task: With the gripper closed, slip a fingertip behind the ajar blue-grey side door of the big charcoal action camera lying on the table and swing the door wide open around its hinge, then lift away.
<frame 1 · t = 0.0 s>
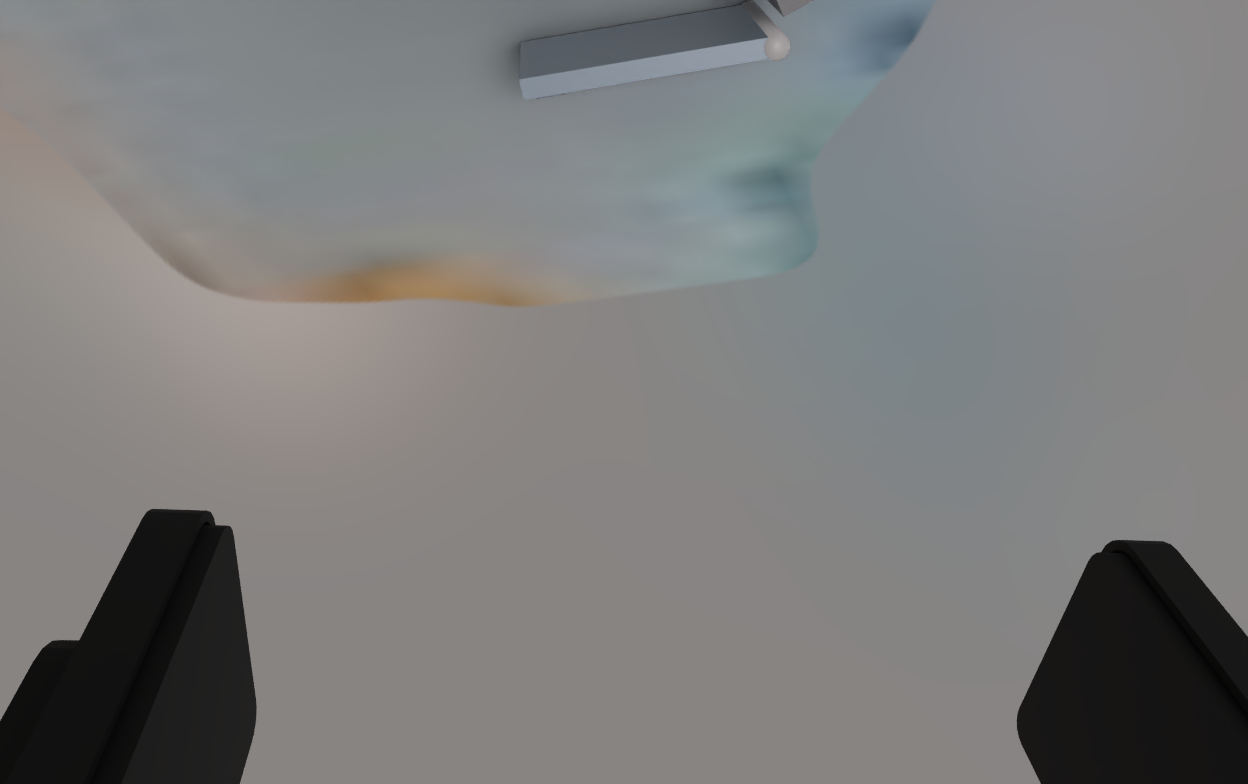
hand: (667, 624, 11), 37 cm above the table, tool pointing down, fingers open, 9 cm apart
side door: (648, 54, 41), point 3 cm above the table, hinge at 70.0°
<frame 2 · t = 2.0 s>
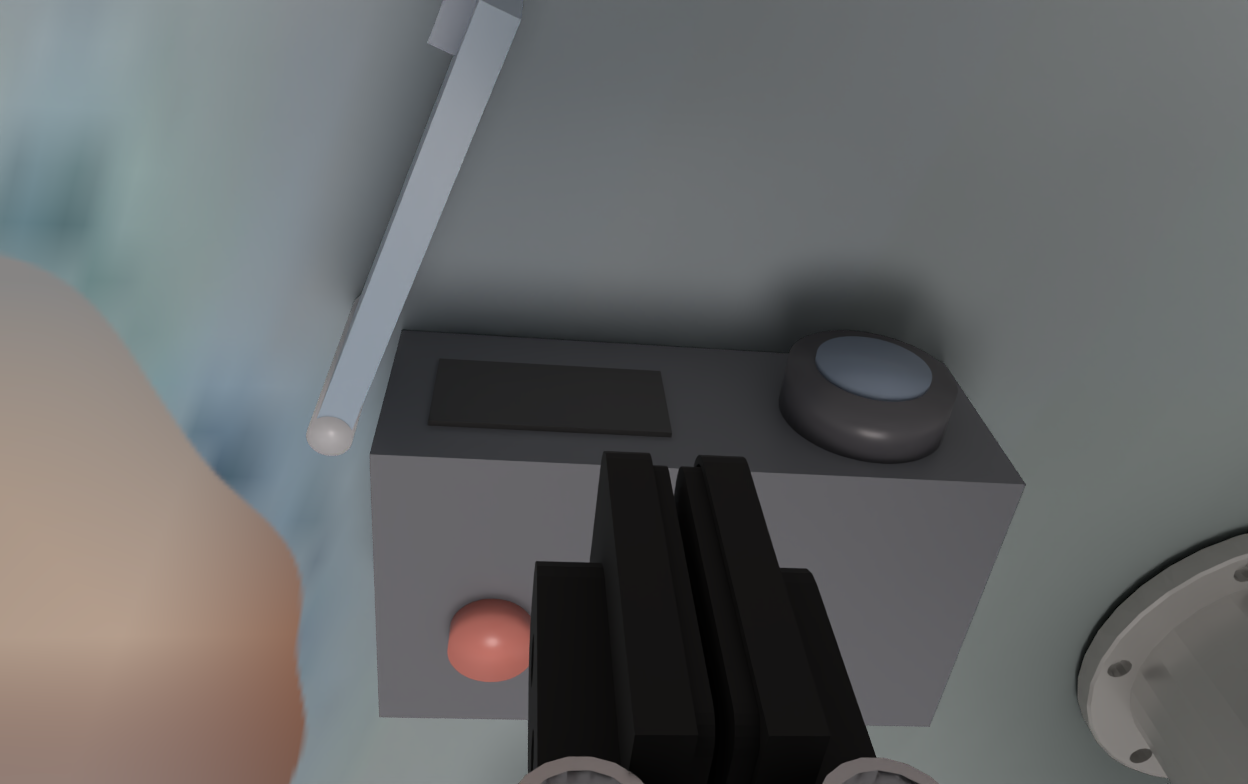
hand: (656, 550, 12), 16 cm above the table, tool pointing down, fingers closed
side door: (407, 198, 22), point 3 cm above the table, hinge at 70.0°
camera body: (662, 471, 31), on the table
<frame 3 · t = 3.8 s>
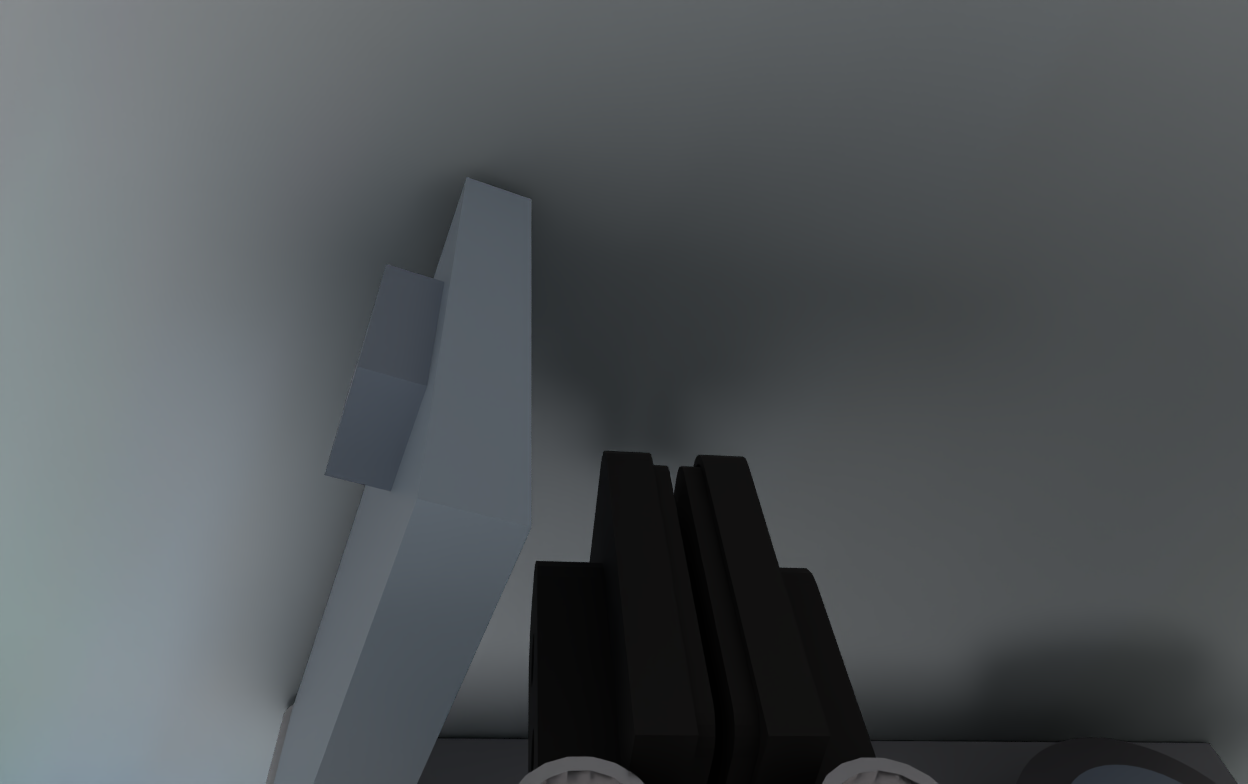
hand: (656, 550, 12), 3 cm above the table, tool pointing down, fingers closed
side door: (333, 674, 12), point 3 cm above the table, hinge at 74.5°, touching gripper
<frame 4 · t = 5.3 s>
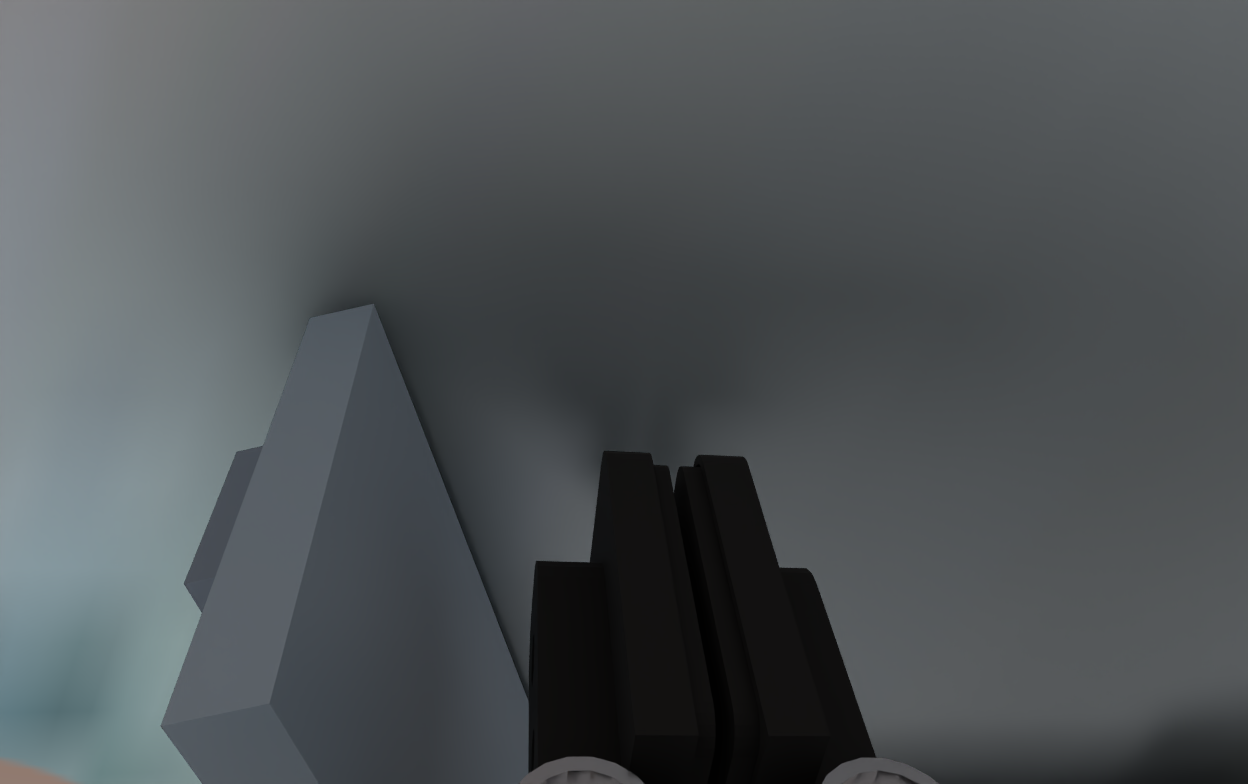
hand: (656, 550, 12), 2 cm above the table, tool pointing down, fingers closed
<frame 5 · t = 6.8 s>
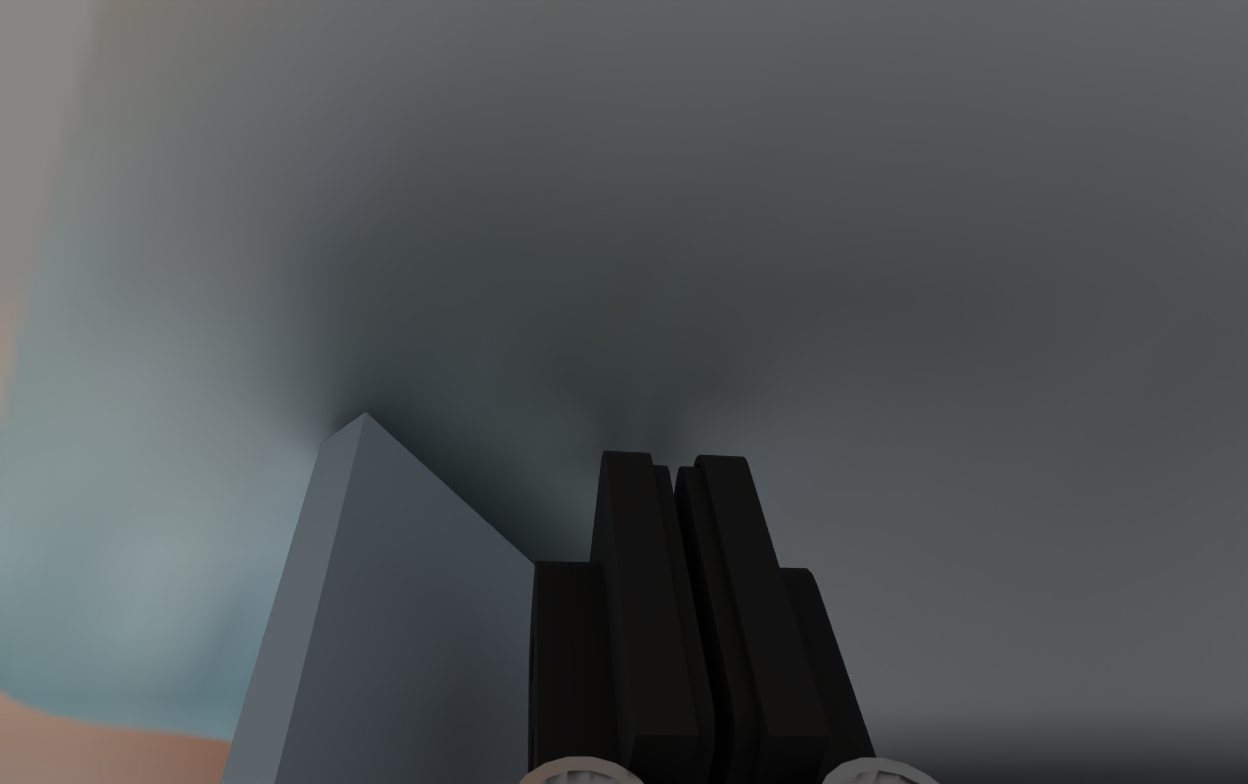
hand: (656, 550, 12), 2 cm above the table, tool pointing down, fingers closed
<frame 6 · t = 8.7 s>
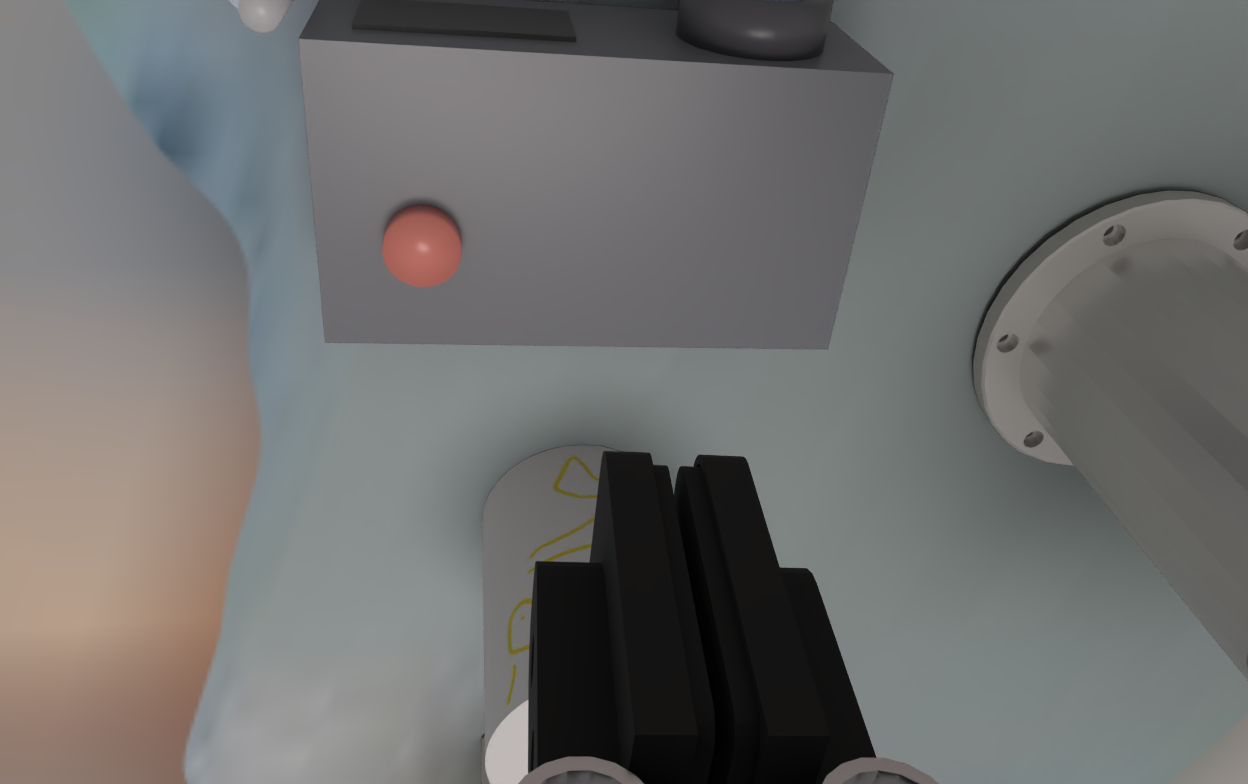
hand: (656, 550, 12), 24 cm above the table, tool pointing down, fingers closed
camera body: (579, 142, 34), on the table
cup: (575, 516, 43), on the table
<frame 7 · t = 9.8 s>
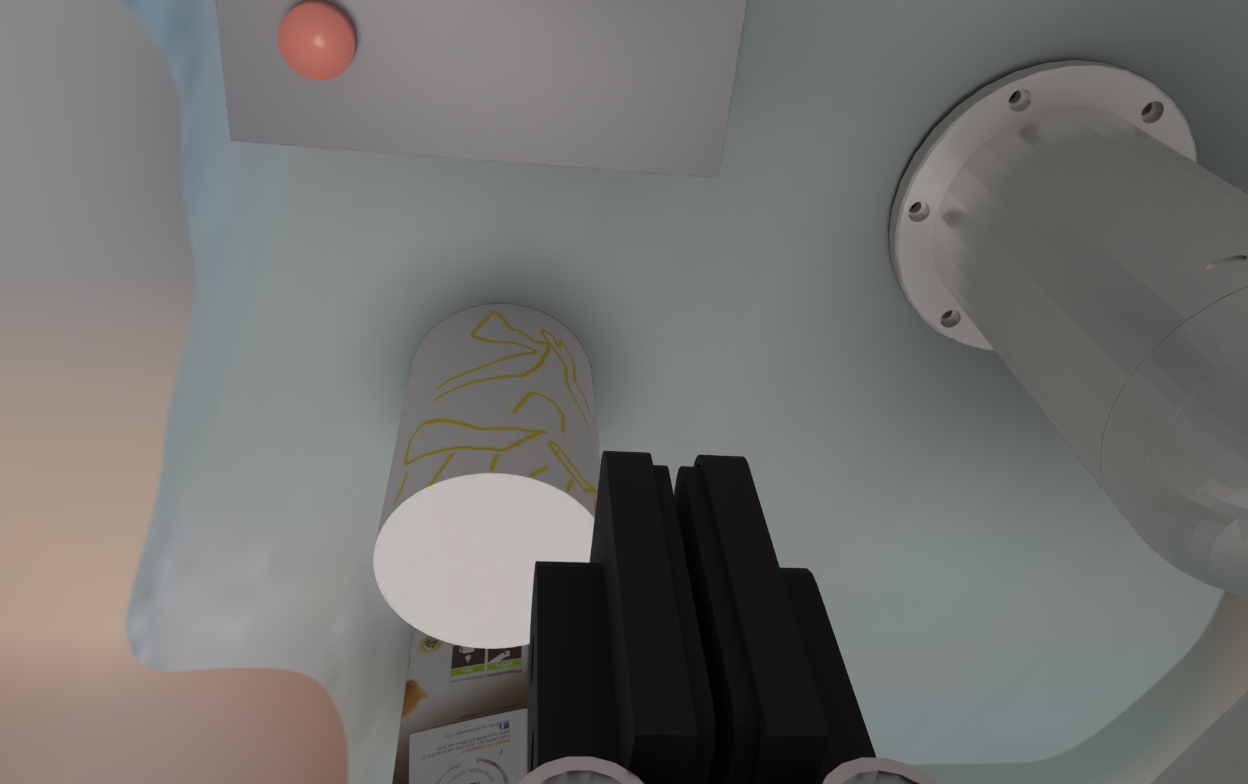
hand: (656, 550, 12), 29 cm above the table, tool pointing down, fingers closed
coffee box: (489, 659, 54), on the table
cup: (502, 381, 45), on the table
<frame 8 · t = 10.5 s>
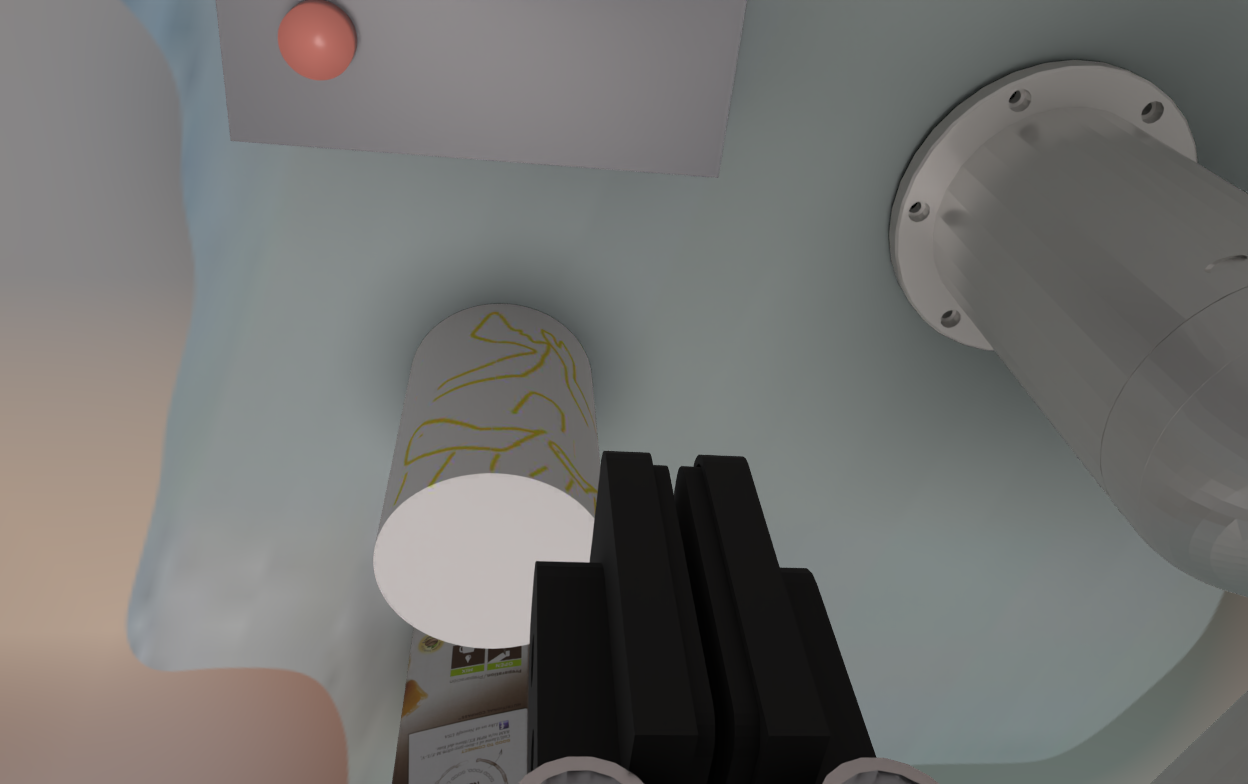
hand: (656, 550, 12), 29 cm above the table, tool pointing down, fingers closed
coffee box: (489, 659, 54), on the table
cup: (502, 381, 45), on the table
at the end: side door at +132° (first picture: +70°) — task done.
